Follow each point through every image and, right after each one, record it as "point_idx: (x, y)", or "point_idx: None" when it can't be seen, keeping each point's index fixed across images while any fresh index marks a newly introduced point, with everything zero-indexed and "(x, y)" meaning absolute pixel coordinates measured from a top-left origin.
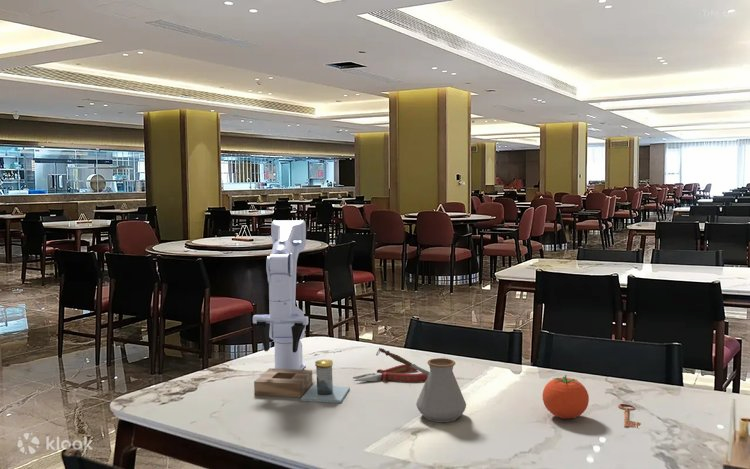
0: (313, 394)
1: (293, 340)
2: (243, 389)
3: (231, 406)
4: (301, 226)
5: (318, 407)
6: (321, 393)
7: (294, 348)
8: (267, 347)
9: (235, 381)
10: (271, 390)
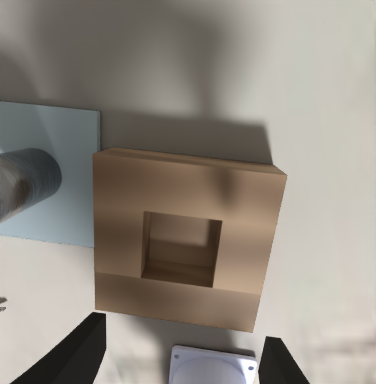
0: (68, 156)
1: (50, 376)
2: (320, 221)
3: (343, 26)
4: None
5: (24, 45)
6: (36, 149)
7: (81, 327)
8: (268, 364)
9: (358, 296)
10: (211, 161)
